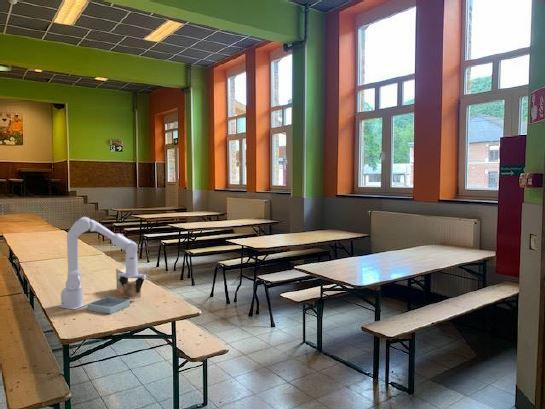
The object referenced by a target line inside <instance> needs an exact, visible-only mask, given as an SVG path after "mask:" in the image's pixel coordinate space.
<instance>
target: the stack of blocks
mask: <svg viewBox="0 0 545 409" xmlns="http://www.w3.org/2000/svg"><path fill="white" fill-rule="evenodd" d="M119 273H126V266H124V267H123V266H122V267H118V268H117V267H116V268H115V278H116V290H117V291H118V292H119V293H121V294H122V295H124V289H123V286H122V284H121V282H120V281H119V279H120V278H118V274H119ZM137 279H138V278H128V283H129V282H136V280H137ZM141 294H142V293H141ZM141 294H140V295H138V296H135V297H127V296H125V297H126V298H127V299H128V300H131V299H137V298H141V296H142V295H141Z"/></svg>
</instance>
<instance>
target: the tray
mask: <svg viewBox="0 0 545 409" xmlns="http://www.w3.org/2000/svg"><path fill="white" fill-rule="evenodd" d="M86 304H87V303H86ZM86 306H87V311H89V312H96V313H99V314H106V315H112V314H115V313H117V312H120V311H121V310H122V311H123V309H126V308H129V307H130V306H131V299H125V298H120V297H119V298H118V297H114V296H113V297H112V296H106V297H103V298H100V299H98V300H94V301H92V302H90V303H88V304H87V305H86Z"/></svg>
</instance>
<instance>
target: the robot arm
mask: <svg viewBox="0 0 545 409" xmlns="http://www.w3.org/2000/svg"><path fill="white" fill-rule="evenodd" d="M89 230H90V232H97V233H99V234H101V235H103V236H104V237H106V238H107V239H109V240H110V241H111V244H112V245H114V246H116V247H118V248H120V249H121V250H123V251H124V250H125V267H126V273H119V274H118V278H120V279H119V281H120V282H121V284H122V286H123V289H124V284H126V283H128V278H138V279H137V280H136V285H137V293H139V292H140V290H141V291H142V286H143V283H144V281H145V279H146V278H147V274H145V273H144V274H143V273H139V271H138V270H139V269H138V268H139V266H138V265H139V264H138V262H139V260H138V251H139V249H138V244H137V243H136V242H135V241H133V240H132V239H129V238H127V237H125V236H124V234H123V233H119V232H118V233H114V232H113V231H111V230H110V229H108V228H107V227H106V226H104V225H102V224H101V223H99V222H98V221H96V220H95V219H91V218H90V217H89V216H88V217H87V216H82V217H80V218H78V219H77V220H76V221H74V224H72V226H71V227H70V229H69V230H68V231H67V234H66V246H67V247H66V248H67V279H66V281H65V287H64V288H63V289H62V290H61V292H60V306H59V308H62V309H68V310H77V309H79V308H82V307H85V306H87V303H84V302H83V286H81V282H82V278H83V277H82V276H81V274H80V268H79V267H80V265H79V240H78V239H79V236H81V235H82V234H83V233H86V232H88V231H89Z"/></svg>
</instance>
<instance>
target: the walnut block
mask: <svg viewBox="0 0 545 409" xmlns="http://www.w3.org/2000/svg"><path fill="white" fill-rule="evenodd" d="M141 291H142V289H141V290H140V292H139V293H137V285H136V282H129V283H126V284H124V294H123V296H124V297H126V296H127V297H126V298H128V297H135V296H138V295H140V294H142V292H141Z"/></svg>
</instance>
